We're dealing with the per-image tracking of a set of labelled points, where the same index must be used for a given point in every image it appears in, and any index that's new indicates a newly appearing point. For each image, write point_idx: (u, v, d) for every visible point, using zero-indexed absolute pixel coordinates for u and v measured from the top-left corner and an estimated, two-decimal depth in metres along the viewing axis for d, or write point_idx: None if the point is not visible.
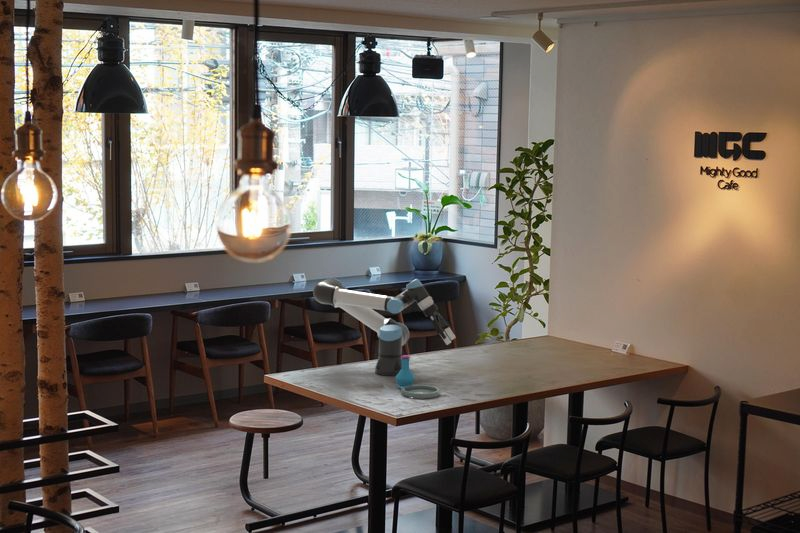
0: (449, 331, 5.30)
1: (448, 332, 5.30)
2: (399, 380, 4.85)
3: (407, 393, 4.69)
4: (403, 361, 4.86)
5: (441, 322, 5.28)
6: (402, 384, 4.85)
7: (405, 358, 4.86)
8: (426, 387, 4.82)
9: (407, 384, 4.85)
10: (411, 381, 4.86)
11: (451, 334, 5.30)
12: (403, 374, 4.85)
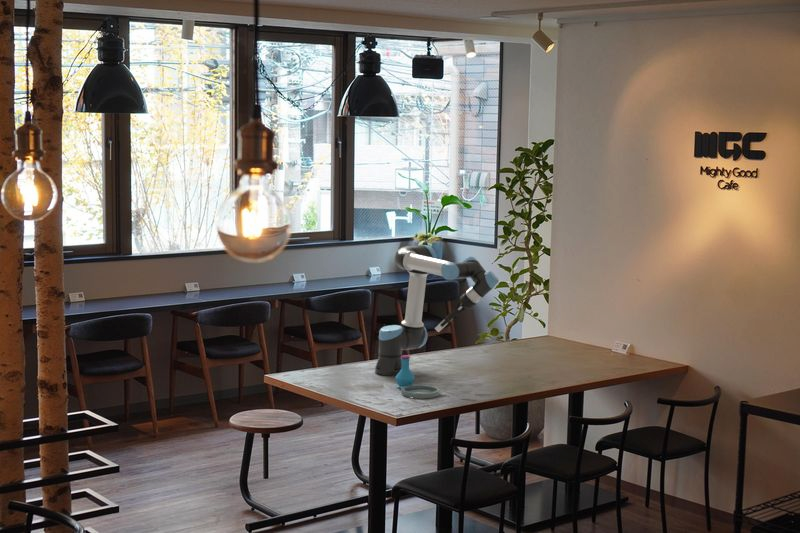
0: None
1: None
2: (399, 380, 4.85)
3: (407, 393, 4.69)
4: (403, 361, 4.86)
5: None
6: (402, 384, 4.85)
7: (405, 358, 4.86)
8: (426, 387, 4.82)
9: (407, 384, 4.85)
10: (411, 381, 4.86)
11: None
12: (403, 374, 4.85)
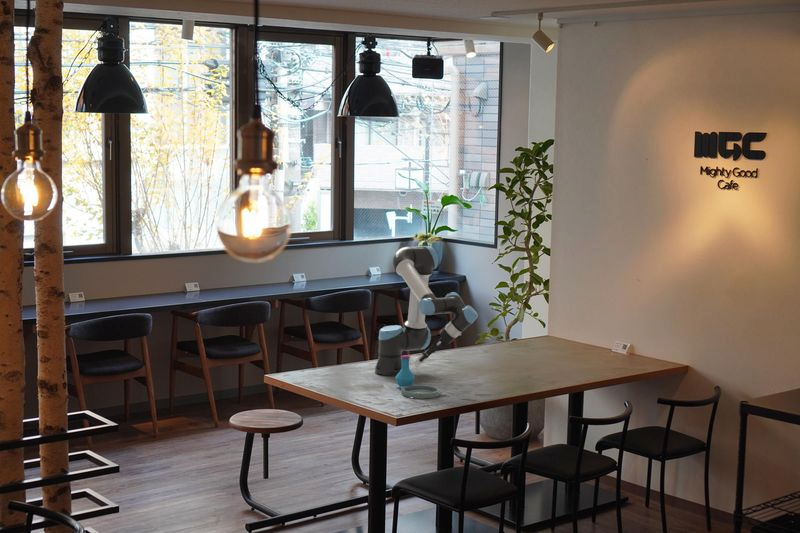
0: None
1: None
2: (399, 380, 4.85)
3: (407, 393, 4.69)
4: (403, 361, 4.86)
5: None
6: (402, 384, 4.85)
7: (405, 358, 4.86)
8: (426, 387, 4.82)
9: (407, 384, 4.85)
10: (411, 381, 4.86)
11: None
12: (403, 374, 4.85)
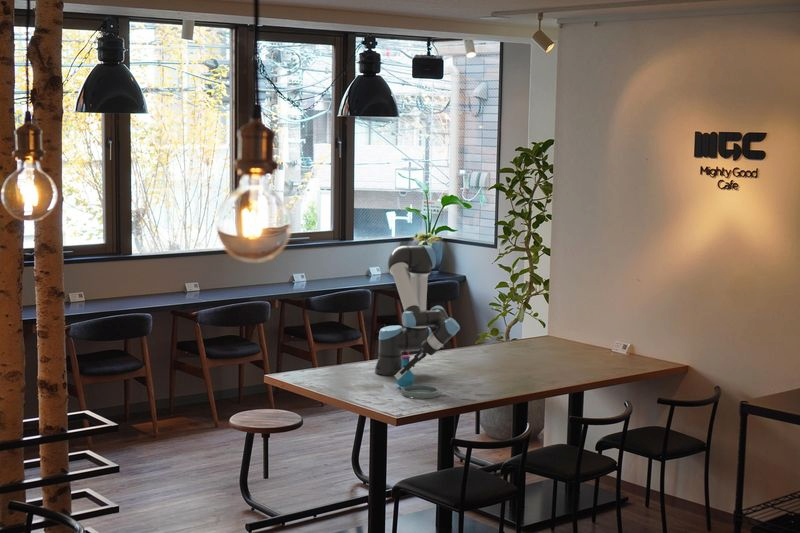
0: None
1: None
2: (399, 380, 4.85)
3: (407, 393, 4.69)
4: (403, 361, 4.86)
5: None
6: (402, 384, 4.85)
7: (405, 358, 4.86)
8: (426, 387, 4.82)
9: (407, 384, 4.85)
10: (411, 381, 4.86)
11: None
12: None
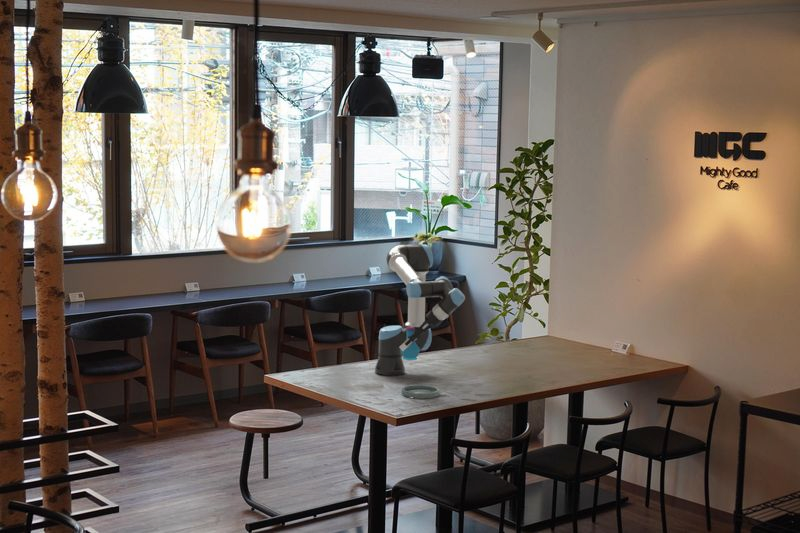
0: None
1: None
2: (404, 352, 4.79)
3: (407, 393, 4.69)
4: (408, 332, 4.80)
5: None
6: (407, 356, 4.79)
7: (410, 329, 4.80)
8: (426, 387, 4.82)
9: (412, 356, 4.79)
10: (416, 352, 4.80)
11: None
12: (408, 346, 4.79)
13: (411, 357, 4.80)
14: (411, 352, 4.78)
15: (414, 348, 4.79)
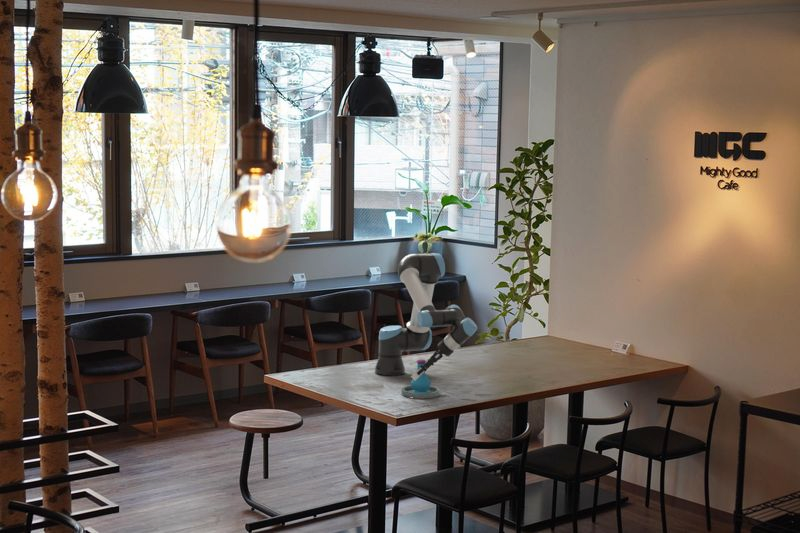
0: None
1: None
2: (415, 385, 4.71)
3: (407, 393, 4.69)
4: (419, 366, 4.72)
5: None
6: (418, 389, 4.71)
7: (421, 362, 4.71)
8: None
9: (423, 389, 4.71)
10: (427, 386, 4.72)
11: None
12: (419, 379, 4.71)
13: (422, 391, 4.72)
14: (422, 386, 4.70)
15: (425, 382, 4.71)
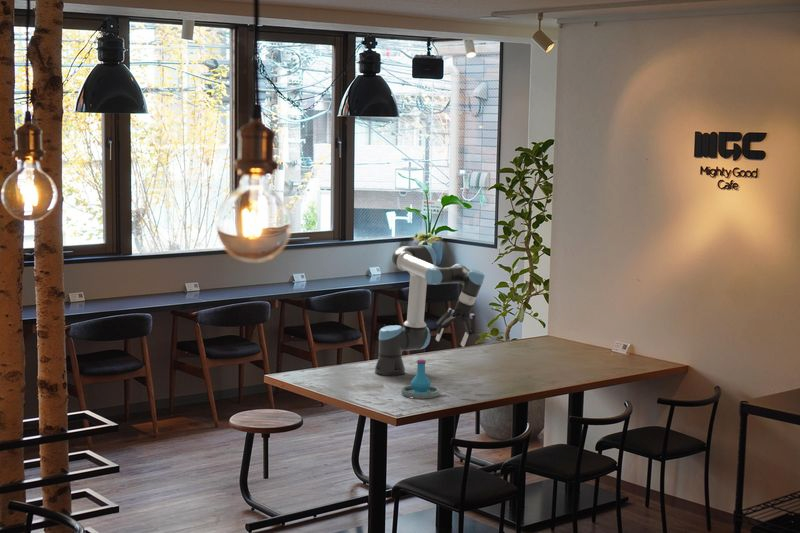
0: (465, 337, 4.83)
1: (464, 337, 4.84)
2: (415, 385, 4.71)
3: (407, 393, 4.69)
4: (419, 365, 4.72)
5: (465, 324, 4.81)
6: (418, 389, 4.71)
7: (421, 362, 4.72)
8: None
9: (423, 389, 4.71)
10: (427, 386, 4.72)
11: (463, 341, 4.83)
12: (419, 379, 4.71)
13: (422, 391, 4.72)
14: (422, 386, 4.70)
15: (425, 382, 4.71)
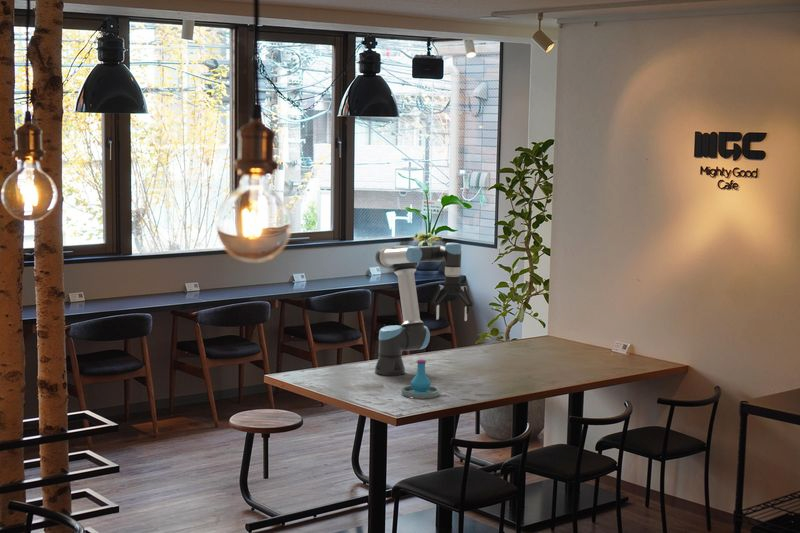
0: None
1: (465, 311, 4.89)
2: (415, 385, 4.71)
3: (407, 393, 4.69)
4: (419, 365, 4.72)
5: None
6: (418, 389, 4.71)
7: (421, 362, 4.72)
8: None
9: (423, 389, 4.71)
10: (427, 386, 4.72)
11: None
12: (419, 379, 4.71)
13: (422, 391, 4.72)
14: (422, 386, 4.70)
15: (425, 382, 4.71)
